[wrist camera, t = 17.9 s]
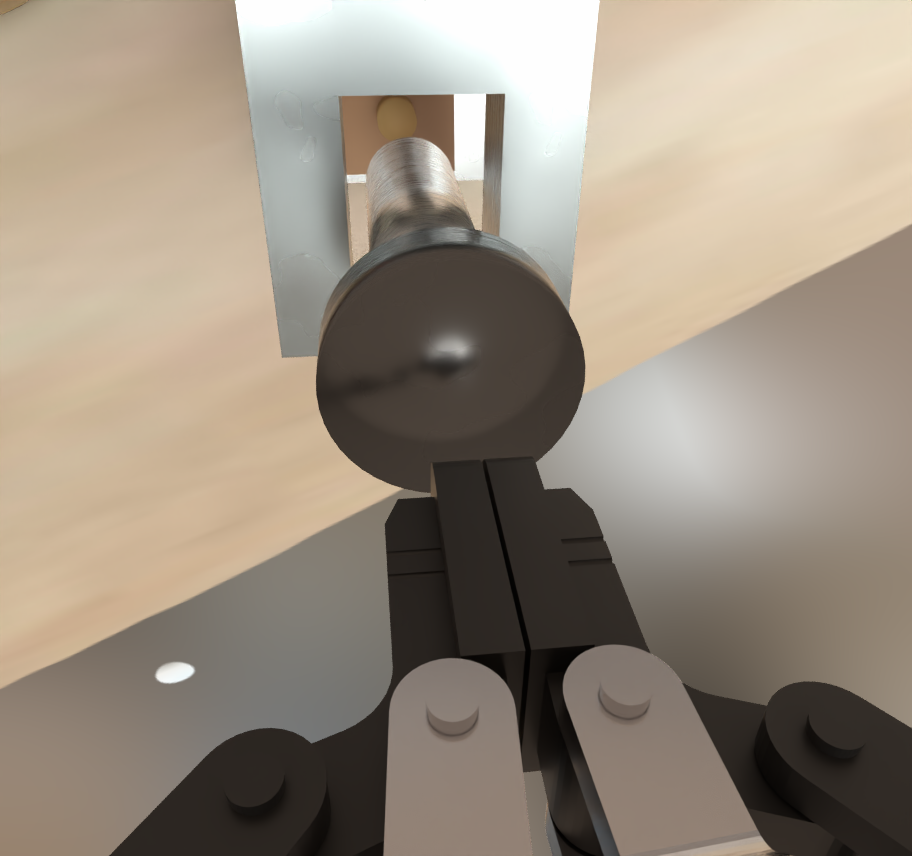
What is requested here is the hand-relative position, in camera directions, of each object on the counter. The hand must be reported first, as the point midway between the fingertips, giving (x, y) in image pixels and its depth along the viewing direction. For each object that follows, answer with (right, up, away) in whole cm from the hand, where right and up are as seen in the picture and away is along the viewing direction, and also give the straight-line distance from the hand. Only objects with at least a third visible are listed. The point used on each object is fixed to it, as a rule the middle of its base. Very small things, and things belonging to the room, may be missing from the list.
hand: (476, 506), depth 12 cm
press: (-4, +23, +30) cm, 38 cm away
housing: (-4, +20, +30) cm, 36 cm away
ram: (-2, +9, +13) cm, 16 cm away
